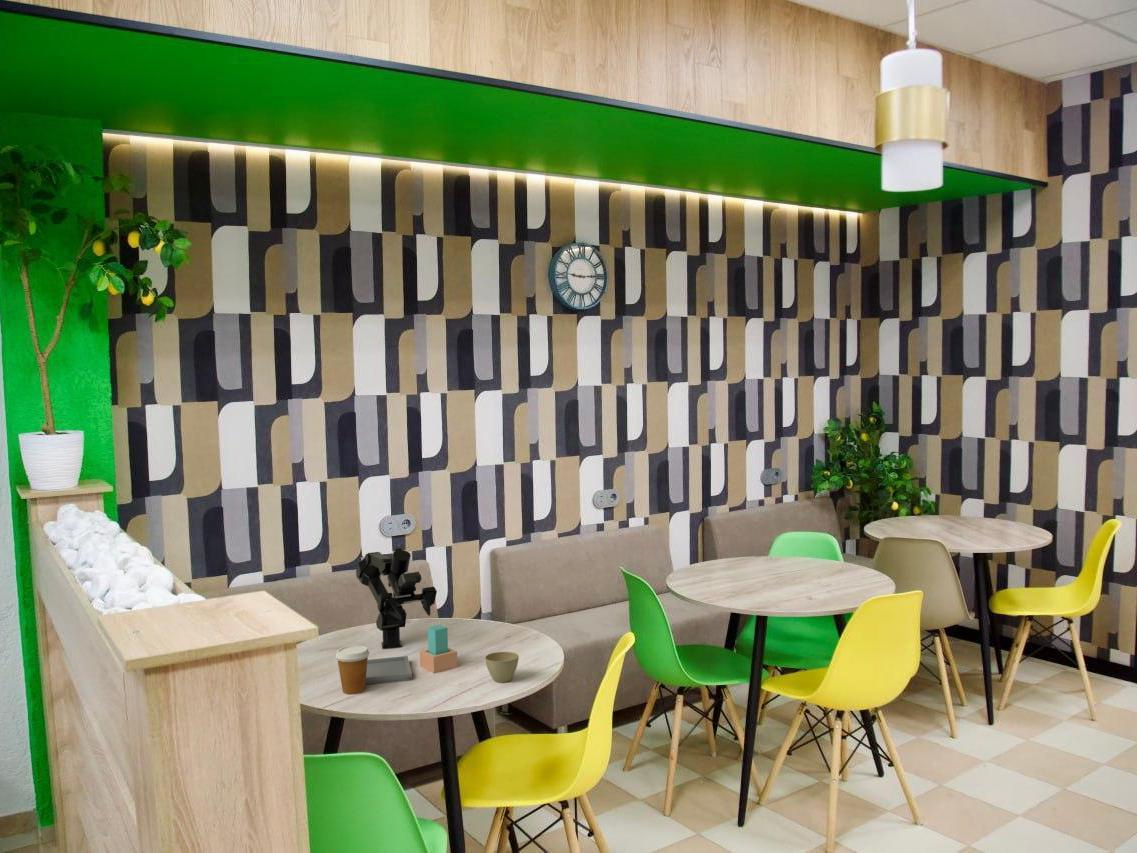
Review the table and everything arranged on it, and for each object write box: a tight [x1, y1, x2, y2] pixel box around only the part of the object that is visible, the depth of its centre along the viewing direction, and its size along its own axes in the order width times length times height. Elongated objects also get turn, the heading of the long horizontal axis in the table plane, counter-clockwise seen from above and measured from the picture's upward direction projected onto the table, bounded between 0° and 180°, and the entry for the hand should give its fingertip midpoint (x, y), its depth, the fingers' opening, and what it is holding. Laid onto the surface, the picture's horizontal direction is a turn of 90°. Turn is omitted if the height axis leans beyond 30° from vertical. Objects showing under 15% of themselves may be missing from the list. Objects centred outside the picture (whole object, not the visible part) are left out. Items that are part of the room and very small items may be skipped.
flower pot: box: [484, 651, 519, 683], centre depth 271 cm, size 10×10×7 cm
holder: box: [419, 647, 458, 674], centre depth 285 cm, size 8×8×5 cm
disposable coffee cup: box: [335, 645, 370, 695], centre depth 265 cm, size 10×10×12 cm
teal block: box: [427, 624, 449, 655], centre depth 285 cm, size 4×4×12 cm
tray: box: [365, 655, 413, 686], centre depth 280 cm, size 18×16×2 cm
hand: (415, 616), depth 287 cm, fingers open, 9 cm apart
